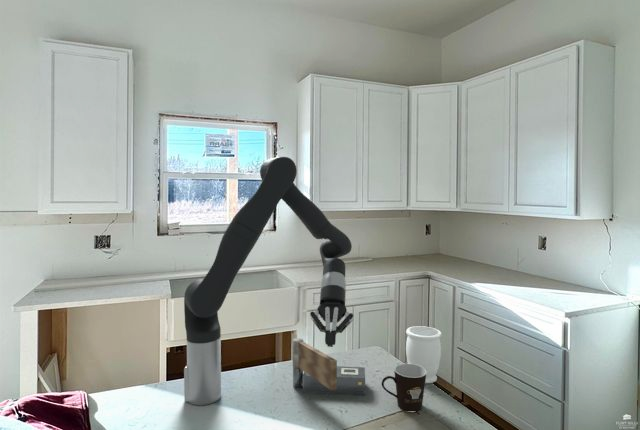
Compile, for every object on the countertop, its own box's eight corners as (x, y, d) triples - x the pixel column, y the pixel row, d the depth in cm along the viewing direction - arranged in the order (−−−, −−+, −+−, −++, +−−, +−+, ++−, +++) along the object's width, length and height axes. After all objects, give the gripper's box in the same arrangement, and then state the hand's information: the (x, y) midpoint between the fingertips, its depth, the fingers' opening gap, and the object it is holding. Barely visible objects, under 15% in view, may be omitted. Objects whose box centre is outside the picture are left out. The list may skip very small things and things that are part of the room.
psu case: (302, 392, 114) (302, 374, 113) (305, 380, 121) (306, 364, 121) (365, 395, 112) (365, 377, 112) (364, 383, 119) (364, 366, 119)
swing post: (292, 388, 116) (292, 368, 116) (293, 383, 119) (293, 364, 119) (302, 388, 116) (302, 368, 116) (303, 383, 119) (303, 364, 119)
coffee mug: (426, 400, 110) (426, 365, 109) (425, 417, 101) (426, 379, 101) (384, 394, 113) (384, 360, 112) (380, 410, 105) (381, 373, 104)
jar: (405, 383, 120) (405, 335, 119) (406, 368, 130) (406, 324, 129) (441, 387, 117) (442, 338, 116) (439, 372, 127) (440, 327, 126)
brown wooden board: (290, 364, 118) (290, 339, 117) (299, 362, 120) (299, 337, 119) (329, 391, 102) (329, 362, 101) (339, 388, 104) (339, 359, 103)
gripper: (310, 283, 116) (304, 338, 104) (355, 284, 115) (354, 340, 103) (312, 296, 121) (307, 350, 110) (354, 297, 120) (354, 352, 109)
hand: (330, 345), depth 106 cm, fingers closed
